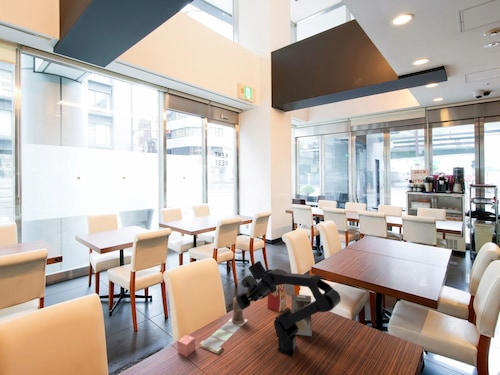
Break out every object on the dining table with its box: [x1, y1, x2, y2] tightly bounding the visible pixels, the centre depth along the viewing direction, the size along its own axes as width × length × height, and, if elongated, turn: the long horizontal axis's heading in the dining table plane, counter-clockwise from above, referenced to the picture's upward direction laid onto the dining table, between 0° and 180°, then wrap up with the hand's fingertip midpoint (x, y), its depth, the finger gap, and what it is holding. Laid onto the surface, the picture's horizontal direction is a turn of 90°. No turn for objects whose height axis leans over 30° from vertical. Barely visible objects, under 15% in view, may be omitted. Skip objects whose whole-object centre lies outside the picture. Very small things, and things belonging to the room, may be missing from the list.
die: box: [177, 334, 196, 358], centre depth 107 cm, size 5×5×5 cm
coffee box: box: [291, 293, 313, 337], centre depth 120 cm, size 9×6×16 cm
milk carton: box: [266, 284, 288, 313], centre depth 140 cm, size 9×9×20 cm
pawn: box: [231, 296, 245, 325], centre depth 127 cm, size 6×6×11 cm
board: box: [198, 317, 248, 355], centre depth 118 cm, size 10×26×1 cm, turn 150°
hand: (244, 303), depth 123 cm, fingers open, 9 cm apart
